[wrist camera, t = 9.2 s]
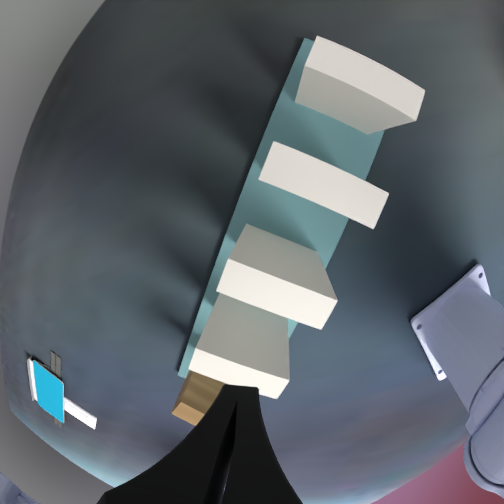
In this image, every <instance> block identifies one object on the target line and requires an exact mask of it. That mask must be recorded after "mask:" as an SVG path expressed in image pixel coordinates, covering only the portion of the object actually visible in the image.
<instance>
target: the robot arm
mask: <svg viewBox="0 0 504 504" xmlns="http://www.w3.org/2000/svg"><path fill="white" fill-rule="evenodd" d="M479 274H480V275H479ZM419 324H420V326H419V327H417V326H418V325H419ZM411 326H412V328H413V330H414V332H415V333H416V335H417V337H418V339H419V341H420V343H421V345H422V347H423V349H424V351H425V353H426V355H427V357H428V359H429V361H430V363H431V366H432V368H433V370H434V372H435V374H436V376H437V378H438V380H443V379H444V378H446V377H447V378H448V379H449V381H450V383H451V384H452V386H453V387H454V389H455V391H456V392H457V394H458V396H459V397H460V399H461V401H462V402H463V404H464V406H465V408H466V409H467V411H468V413H469V415H470V417H469V419H468V421H467V422H466V424H465V426H466V428H467V430H468V432H469V434H470V436H469V437H468V439H467V441H466V442H465V445H464V451H463V458H464V463H465V467H466V469H467V472H468V474H469V475H470V477H471V479H472V480H473V481H474V482H475V483H476V484H477V485H478V486H480V487H481V488H483V489H485V490H488V491H491V492H494V493H496V494H498V495H500V496H501V497H502V498H503V499H504V306H502V305H501V304H500V303H499V302H497V301H496V300H495V299H494V298H493V297H491V295H490V291H489V287H488V283H487V280H486V276H485V273H484V270H483V267H482V265H480V264H477V265H475V266H474V267H473V268H472V269H471V270H470V271H469V272H468V273H467V274H465V275H464V276H463V277H462V278H461V279H460V280H459V281H458V282H456V283H455V284H454V285H453V286H452V287H451V288H450V289H448V290H447V291H446V292H445V293H444V294H442V295H441V296H440V297H439V298H437V299H436V300H435V301H434V302H433V303H431V304H430V305H429V306H427V307H426V308H425V309H424V310H422V311H421V312H420V313H418V314H417V315H416V316H414V317H413V318H412V320H411ZM229 468H230V469H229ZM228 472H229V473H228ZM227 475H228V478H227ZM226 479H227V482H226ZM225 483H226V486H225ZM224 487H225V490H224ZM223 493H224V494H223ZM0 504H39V503H38V502H36V501H35V500H34V499H32V498H31V497H29V496H28V495H26V494H25V493H24V492H22V491H21V490H20V489H19V488H18V487H17V486H16V485H15V484H14V483H13V482H11V481H10V480H9V479H8V478H7V477H6V476H4V475H3V474H2V473H0ZM97 504H303V503H302V502H301V500H300V499H299V497H298V496H297V494H296V493H295V491H294V490H293V488H292V486H291V485H290V483H289V482H288V480H287V478H286V476H285V474H284V473H283V471H282V469H281V467H280V465H279V463H278V461H277V458H276V456H275V454H274V451H273V449H272V446H271V444H270V441H269V438H268V435H267V432H266V429H265V425H264V422H263V418H262V414H261V408H260V402H259V389H258V388H257V387H251V386H239V385H230V384H225V385H223V386H222V388H221V390H220V392H219V394H218V396H217V397H216V399H215V400H214V402H213V404H212V405H211V407H210V408H209V409H208V411H207V412H206V413H205V415H204V416H203V417H202V419H201V420H200V421H199V423H198V424H197V425H196V426H195V427H194V428H193V430H192V431H191V432H190V433H189V434H188V435H187V436H186V437H185V439H184V440H183V441H182V442H181V443H180V444H178V445H177V446H176V447H175V448H174V449H173V450H172V451H171V452H170V453H169V454H167V455H166V456H165V457H164V458H162V459H161V460H160V461H159V462H157V463H156V464H155V465H153V466H152V467H151V468H149V469H148V470H146V471H144V472H143V473H141V474H140V475H138V476H136V477H135V478H133V479H131V480H130V481H128V482H126V483H124V484H122V485H120V486H117V487H115V488H113V489H111V490H109V491H107V492H105V493H104V494H103V496H102V497H101V498H100V500H99V501H98V503H97Z"/></svg>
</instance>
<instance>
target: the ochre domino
mask: <svg viewBox="0 0 504 504" xmlns="http://www.w3.org/2000/svg"><path fill="white" fill-rule="evenodd" d="M225 384H227V383H224V382H221V381H218V380H215V379H213V378H210V377H207V376H205V375H202V374H199V373H197V372H194V371H192V370H189V372H188V374H187V376H186V379H185V381H184V384H183V386H182V389H181V391H180V393H179V396H178V398H177V401H176V403H175V406H174V408H173V410H172V414H173V415H175V416H177V417H179V418H181V419H183V420H185V421H187V422H189V423H191V424H193V425H195V426H196V425H197V424H198V423H199V421H200V420H201V419H202V417H203V416H204V415H205V413H206V412H207V411H208V409H209V408H210V407H211V405H212V404H213V402H214V400H215V399H216V397H217V396H218V394H219V392H220V390H221V388H222V386H223V385H225Z"/></svg>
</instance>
